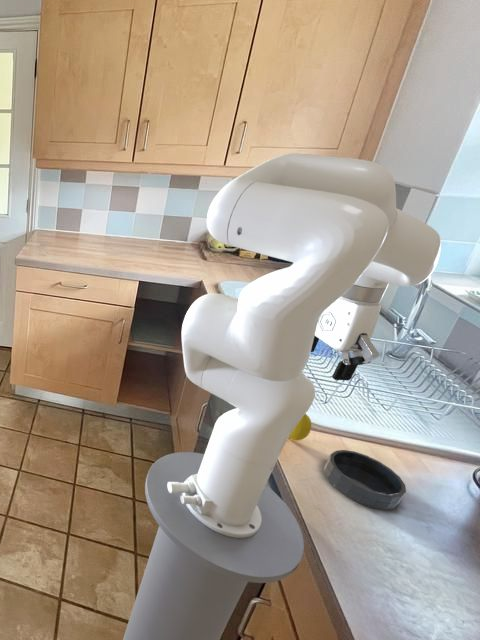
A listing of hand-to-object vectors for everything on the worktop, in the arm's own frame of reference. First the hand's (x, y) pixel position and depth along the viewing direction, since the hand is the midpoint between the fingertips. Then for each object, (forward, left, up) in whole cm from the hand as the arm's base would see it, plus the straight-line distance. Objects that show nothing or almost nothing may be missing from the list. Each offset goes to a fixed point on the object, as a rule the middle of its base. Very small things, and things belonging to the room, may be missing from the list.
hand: (321, 364), depth 85 cm
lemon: (0, 0, -20) cm, 21 cm away
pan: (+6, -12, -20) cm, 24 cm away
